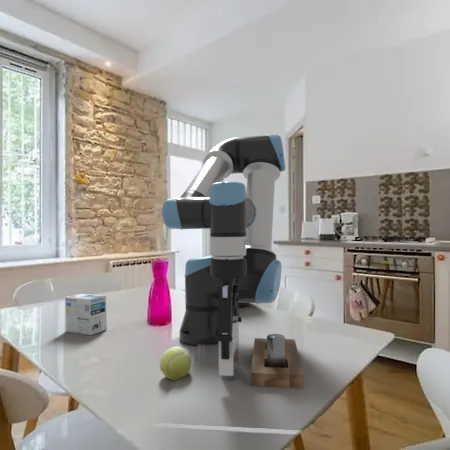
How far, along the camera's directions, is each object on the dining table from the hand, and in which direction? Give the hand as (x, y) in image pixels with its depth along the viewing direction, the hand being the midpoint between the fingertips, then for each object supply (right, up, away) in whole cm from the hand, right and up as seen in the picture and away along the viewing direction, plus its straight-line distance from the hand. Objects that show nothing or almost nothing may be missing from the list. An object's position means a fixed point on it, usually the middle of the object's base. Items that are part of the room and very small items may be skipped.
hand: (229, 362), depth 75 cm
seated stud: (+10, -3, 0) cm, 10 cm away
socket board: (+10, -3, +6) cm, 12 cm away
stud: (0, -3, 0) cm, 3 cm away
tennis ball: (-11, -4, +1) cm, 12 cm away
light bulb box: (-43, -4, +36) cm, 57 cm away
